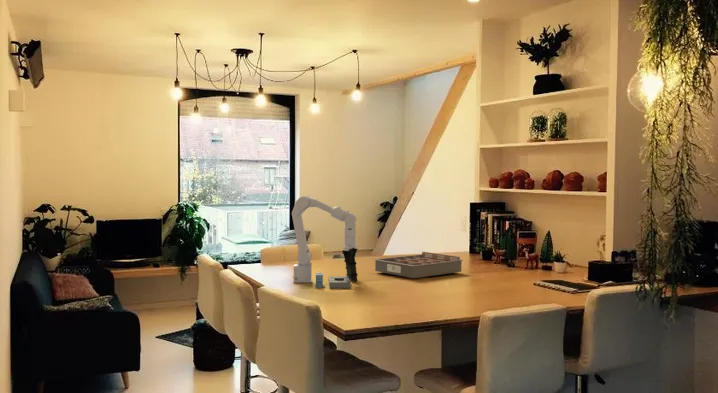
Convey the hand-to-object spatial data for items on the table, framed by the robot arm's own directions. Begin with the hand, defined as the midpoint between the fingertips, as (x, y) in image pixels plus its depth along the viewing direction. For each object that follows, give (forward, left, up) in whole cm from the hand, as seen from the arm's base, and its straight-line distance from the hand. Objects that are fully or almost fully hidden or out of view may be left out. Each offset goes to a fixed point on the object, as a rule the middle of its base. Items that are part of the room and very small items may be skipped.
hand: (349, 263), depth 312 cm
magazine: (+2, +10, -10) cm, 14 cm away
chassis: (-6, -8, -10) cm, 14 cm away
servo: (-16, -10, -10) cm, 21 cm away
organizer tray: (+41, +30, -10) cm, 52 cm away
